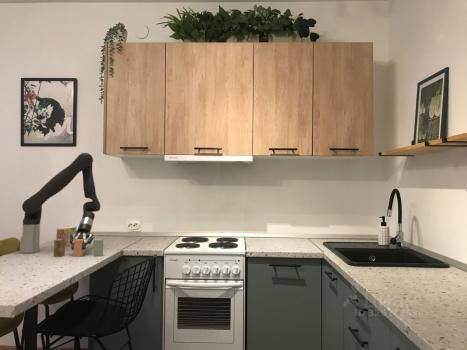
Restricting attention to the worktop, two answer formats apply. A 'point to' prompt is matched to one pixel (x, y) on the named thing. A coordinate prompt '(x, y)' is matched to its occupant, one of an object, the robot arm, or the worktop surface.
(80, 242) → the terracotta block
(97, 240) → the sage green block
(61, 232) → the stack of blocks
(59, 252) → the walnut block
